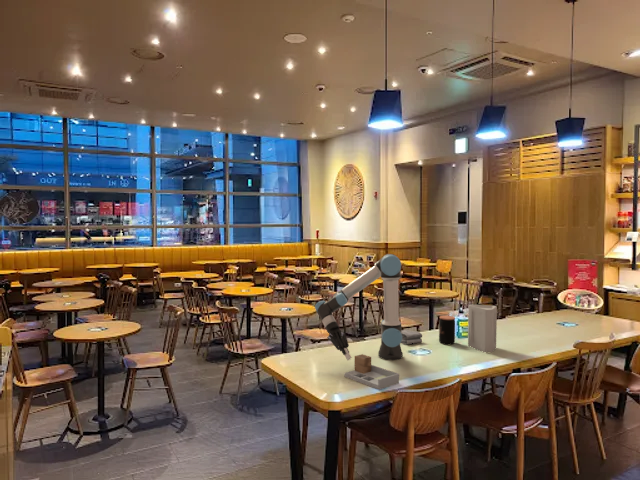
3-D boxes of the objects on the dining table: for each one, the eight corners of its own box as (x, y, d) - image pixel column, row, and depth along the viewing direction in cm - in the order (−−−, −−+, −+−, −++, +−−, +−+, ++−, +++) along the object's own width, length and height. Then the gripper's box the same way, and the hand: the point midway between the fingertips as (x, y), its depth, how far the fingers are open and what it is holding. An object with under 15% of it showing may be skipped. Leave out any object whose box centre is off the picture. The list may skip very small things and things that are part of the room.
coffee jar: (438, 340, 330) (438, 315, 329) (453, 341, 328) (453, 315, 328) (439, 344, 319) (440, 318, 319) (455, 345, 318) (456, 319, 317)
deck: (363, 371, 261) (363, 362, 261) (398, 383, 241) (399, 373, 241) (344, 376, 252) (344, 367, 252) (379, 389, 232) (379, 379, 232)
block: (362, 368, 259) (362, 354, 259) (371, 371, 254) (371, 357, 254) (354, 370, 256) (354, 356, 255) (363, 373, 250) (363, 359, 250)
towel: (407, 345, 316) (407, 334, 316) (389, 340, 332) (389, 329, 332) (423, 342, 325) (423, 331, 324) (404, 337, 340) (405, 326, 340)
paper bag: (504, 351, 303) (505, 308, 302) (485, 353, 298) (486, 309, 297) (485, 344, 321) (486, 303, 320) (467, 345, 316) (468, 304, 315)
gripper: (336, 326, 281) (354, 360, 269) (319, 329, 273) (337, 364, 261) (342, 319, 277) (361, 353, 265) (325, 322, 269) (344, 357, 256)
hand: (349, 359), depth 263 cm, fingers closed
